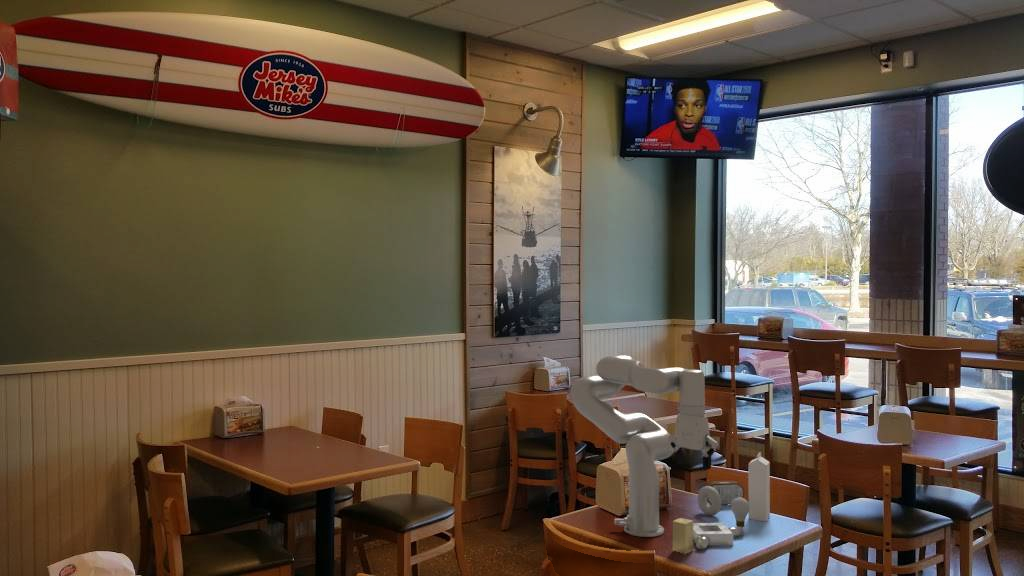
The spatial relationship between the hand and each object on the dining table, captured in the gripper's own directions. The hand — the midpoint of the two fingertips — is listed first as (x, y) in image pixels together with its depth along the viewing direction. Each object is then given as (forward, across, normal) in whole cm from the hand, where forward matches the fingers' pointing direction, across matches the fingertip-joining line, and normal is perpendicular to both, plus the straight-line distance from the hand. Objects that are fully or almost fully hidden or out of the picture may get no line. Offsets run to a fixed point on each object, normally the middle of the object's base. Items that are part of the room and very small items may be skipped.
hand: (693, 466), depth 242 cm
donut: (+24, -15, +31) cm, 42 cm away
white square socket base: (+24, 0, +9) cm, 26 cm away
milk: (+24, -2, +41) cm, 48 cm away
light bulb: (+24, 0, +26) cm, 36 cm away
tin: (+24, -19, +47) cm, 56 cm away
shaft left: (+24, +2, +2) cm, 24 cm away
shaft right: (+24, +3, +16) cm, 29 cm away
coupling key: (+24, 0, -6) cm, 25 cm away
